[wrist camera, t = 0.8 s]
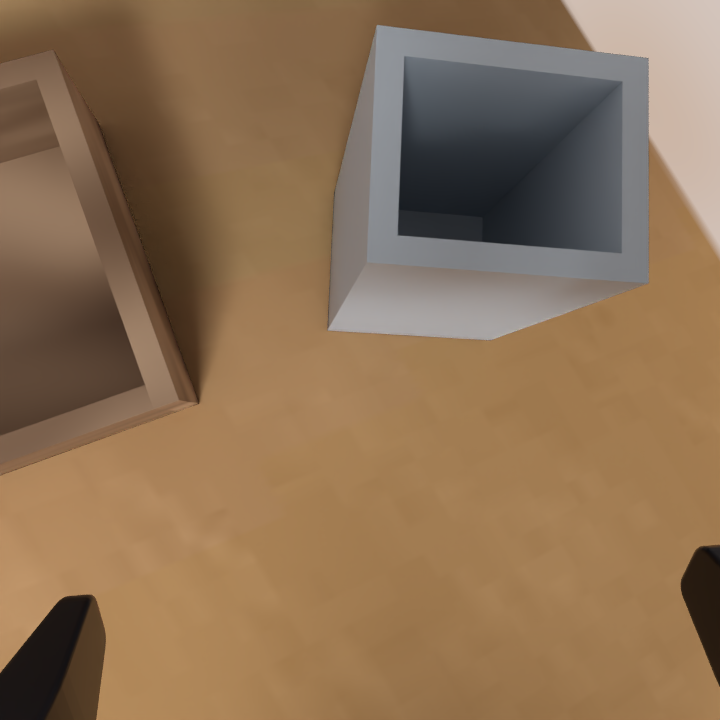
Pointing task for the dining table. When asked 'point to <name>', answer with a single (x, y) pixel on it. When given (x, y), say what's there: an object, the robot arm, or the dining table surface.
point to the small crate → (488, 186)
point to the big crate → (72, 280)
